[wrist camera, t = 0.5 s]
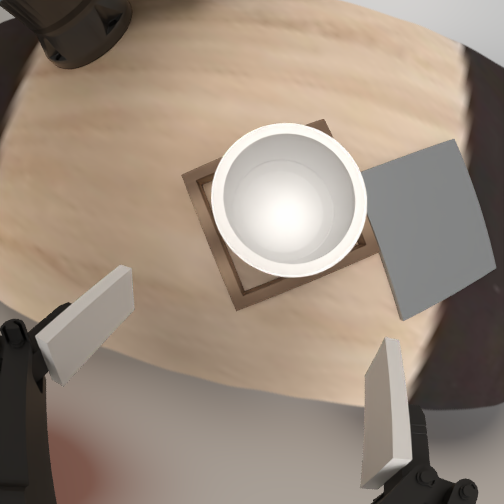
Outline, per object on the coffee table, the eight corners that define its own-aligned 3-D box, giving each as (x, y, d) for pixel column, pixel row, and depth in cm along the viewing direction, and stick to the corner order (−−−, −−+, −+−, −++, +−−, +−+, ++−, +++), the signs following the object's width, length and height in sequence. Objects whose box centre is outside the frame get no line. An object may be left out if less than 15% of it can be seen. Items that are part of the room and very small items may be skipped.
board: (349, 177, 35) (351, 175, 34) (450, 140, 34) (454, 138, 33) (400, 319, 35) (403, 321, 34) (491, 267, 34) (496, 268, 33)
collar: (188, 179, 36) (181, 174, 33) (319, 127, 35) (323, 118, 32) (238, 304, 36) (236, 310, 33) (371, 250, 35) (380, 251, 32)
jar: (345, 213, 35) (396, 197, 20) (284, 280, 36) (295, 310, 21) (276, 149, 35) (282, 93, 20) (214, 215, 36) (177, 200, 21)
